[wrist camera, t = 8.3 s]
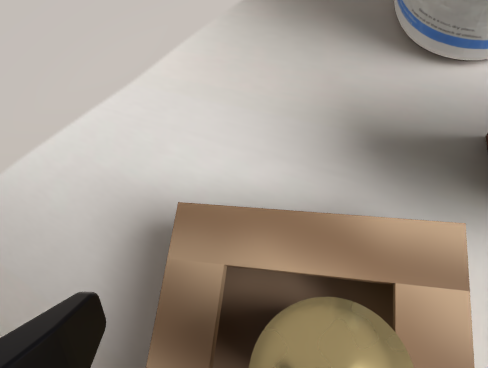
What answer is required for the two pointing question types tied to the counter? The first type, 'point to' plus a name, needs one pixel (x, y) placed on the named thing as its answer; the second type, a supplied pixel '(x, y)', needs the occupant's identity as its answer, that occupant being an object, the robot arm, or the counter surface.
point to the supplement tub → (447, 26)
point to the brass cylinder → (329, 338)
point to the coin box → (308, 281)
